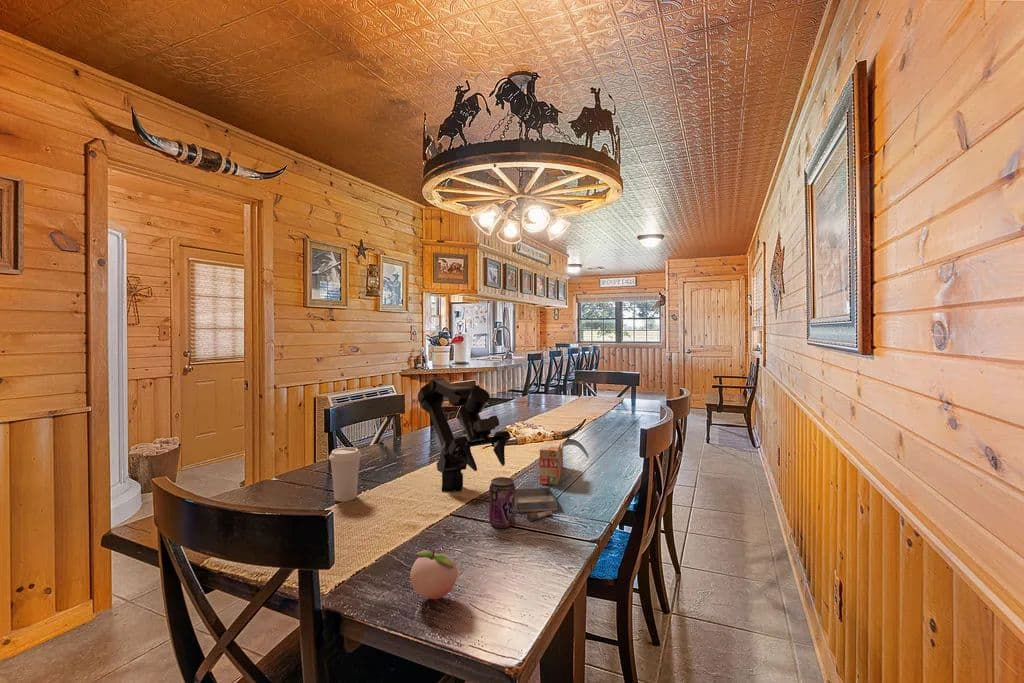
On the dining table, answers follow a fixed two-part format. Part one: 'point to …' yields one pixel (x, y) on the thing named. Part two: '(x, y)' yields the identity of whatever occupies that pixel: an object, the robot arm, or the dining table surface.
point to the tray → (535, 500)
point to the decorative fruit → (433, 575)
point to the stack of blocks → (551, 462)
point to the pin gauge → (538, 515)
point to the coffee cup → (345, 473)
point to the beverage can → (502, 502)
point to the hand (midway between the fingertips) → (490, 467)
